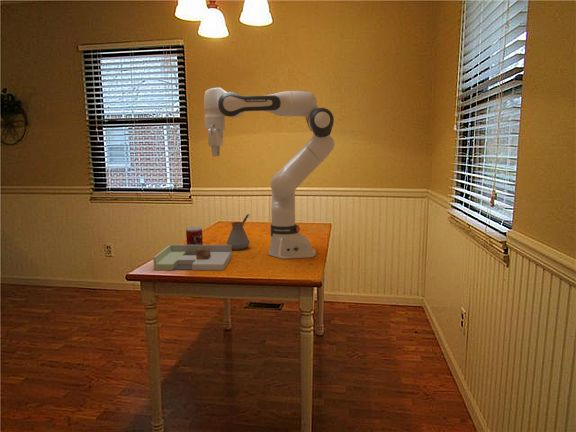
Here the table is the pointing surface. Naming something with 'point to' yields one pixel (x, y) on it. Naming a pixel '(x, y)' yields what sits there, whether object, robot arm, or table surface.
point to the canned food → (194, 236)
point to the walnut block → (203, 253)
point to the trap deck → (192, 258)
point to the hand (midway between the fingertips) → (216, 156)
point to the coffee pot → (238, 236)
